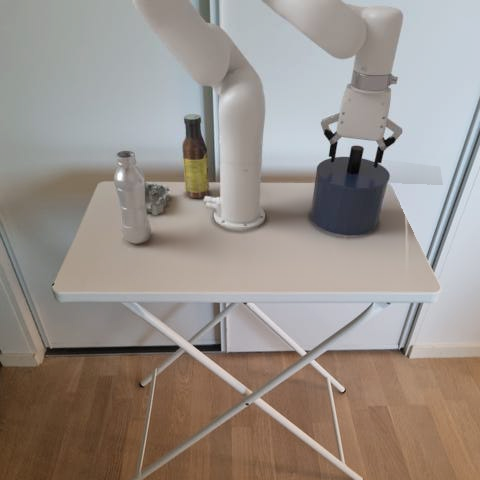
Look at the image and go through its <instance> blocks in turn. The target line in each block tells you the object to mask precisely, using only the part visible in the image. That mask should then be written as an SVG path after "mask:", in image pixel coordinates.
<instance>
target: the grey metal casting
mask: <svg viewBox="0 0 480 480" xmlns="http://www.w3.org/2000/svg"><path fill="white" fill-rule="evenodd" d="M169 193H170V187H169V186H163V184H160V185H159V184H155V183H148V182H145V205H146V211H147V213H151V214H152V215H153V216H158V215H159V214H163V213H164V209H165V208H164V207H166V205H167V201H169V200H170V196H169Z"/></svg>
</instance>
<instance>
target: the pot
mask: <svg viewBox="0 0 480 480" xmlns="http://www.w3.org/2000/svg"><path fill="white" fill-rule="evenodd" d="M387 187H388V183H387V184H386V185H384V186H382V187H380V188H377V189H373V190H365V191H357V190H347V189H342V188H338V187H335V186H332V185H330V184H328V183H326V182H324V181H323V180H321V179H320V178H319V176H318V175H317V172H316V173H315V181H314V187H313V188H314V189H313V196H312V202H311V208H310V218H311V221H312V222H313V224H314V225H315V226H316V227H318V228H320V229H321V230H323V231H325V232H328V233H331V234H335V235H338V236H339V235H340V236H360V235H365V234H368V233H370V232H372V231H373V230H374V229H375V228H376V227H377V225H378V222H379V218H380V215H381V210H382V206H383V202H384V198H385V195H386V190H387Z"/></svg>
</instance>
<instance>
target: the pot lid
mask: <svg viewBox="0 0 480 480" xmlns="http://www.w3.org/2000/svg"><path fill="white" fill-rule="evenodd" d="M364 150H365V149H364V147H363V146H361V145H352V146H351V147H350V151H349V156H335V160H334V162H331V157H329V158H326V159H324V160H322V161H321V162H319V163H318V164H317V166H316V170H315V171H316V173H317V175H318V176H319V178H320V179H321V180H323V181H324V182H326V183H328V184H330V185H332V186H335V187H338V188H342V189H347V190H357V191H365V190H373V189H377V188H380V187H382V186H384V185H386V184H387V185H388V183H389V181H390V177H391V175H390V172H389V171H388V169H387V168H386V167H385V166H384V165H382V164H381V163H378V166H377V168H375V167H374V161H373V160H370V159H367V158H363V154H364Z"/></svg>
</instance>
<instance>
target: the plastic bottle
mask: <svg viewBox="0 0 480 480" xmlns="http://www.w3.org/2000/svg"><path fill="white" fill-rule="evenodd" d="M116 164H117V166H118V167H117V168H116V170H115V172H114V174H113V183H114V187H115V190H116V193H117V196H118V200H119V201H118V202H119V205H120V210H121V212H120V213H121V233H122V236H123V238H124V239H125V241H127V242H128V243H131V244H142V243H146V242H147V241H149V239H150V238H151V235H152V226H151V223H150V220H149V216H148V212H147V211H146V205H145V183H146V177H145V174H144V172H143V171H142V170H141V169H140V168H139V166H137V159H136V154H135V152H134V151H131V150H120V151H118V152H116Z"/></svg>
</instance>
